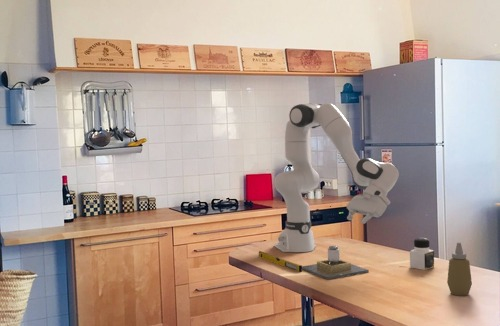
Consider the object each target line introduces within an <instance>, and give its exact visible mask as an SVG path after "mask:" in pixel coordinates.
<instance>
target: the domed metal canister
mask: <svg viewBox="0 0 500 326" xmlns="http://www.w3.org/2000/svg"><path fill="white" fill-rule="evenodd" d="M327 260H328V265H331V266H332V265H338V264H340V260H341V258H340V248H339V246H338V245H330V246H328V248H327Z"/></svg>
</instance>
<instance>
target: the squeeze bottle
mask: <svg viewBox="0 0 500 326" xmlns="http://www.w3.org/2000/svg"><path fill="white" fill-rule="evenodd" d="M455 247H456V248H455V251H454V252H453V251H452V253H451V258H450V259H449V260H448V261H449V263H448V270H447V271H448V272H447V281H446V282H447V286H448V288H449V291H450V294H452V295H454V296H460V297H462V296H464V297H465V296H467V295H468V296H469V293H470V291H471V288H472V284H473V283H472V275H471V264H470V260H469V259H468V258H467V253H466V252H464V250H463V246H462V242H457V243H456V246H455Z"/></svg>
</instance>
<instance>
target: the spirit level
mask: <svg viewBox="0 0 500 326" xmlns="http://www.w3.org/2000/svg"><path fill="white" fill-rule="evenodd" d="M258 258H260V259H263V260H266V261H268V262H271V263H274V264H276V265H279V266H282V267H284V268H287V269H290V270H293V271H294V272H297V273H298V272H299V273H302V272H303V270H302V266H303V265H301V264H297V263H295V262H292V261H289V260H287V259H284V258H279V257H278V256H274V255H272V254H270V253H266V252H263V251H261V250H259V251H258Z"/></svg>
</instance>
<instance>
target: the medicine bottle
mask: <svg viewBox="0 0 500 326" xmlns="http://www.w3.org/2000/svg"><path fill="white" fill-rule="evenodd" d="M413 247H414V249H411V250H409V267H410V268H412V269H418V270H421V271H427V270H429V269H432V268H434V267H435V250H433V249H430V240H429V239H428V238H425V237H417V238H415V239H414V240H413Z"/></svg>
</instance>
